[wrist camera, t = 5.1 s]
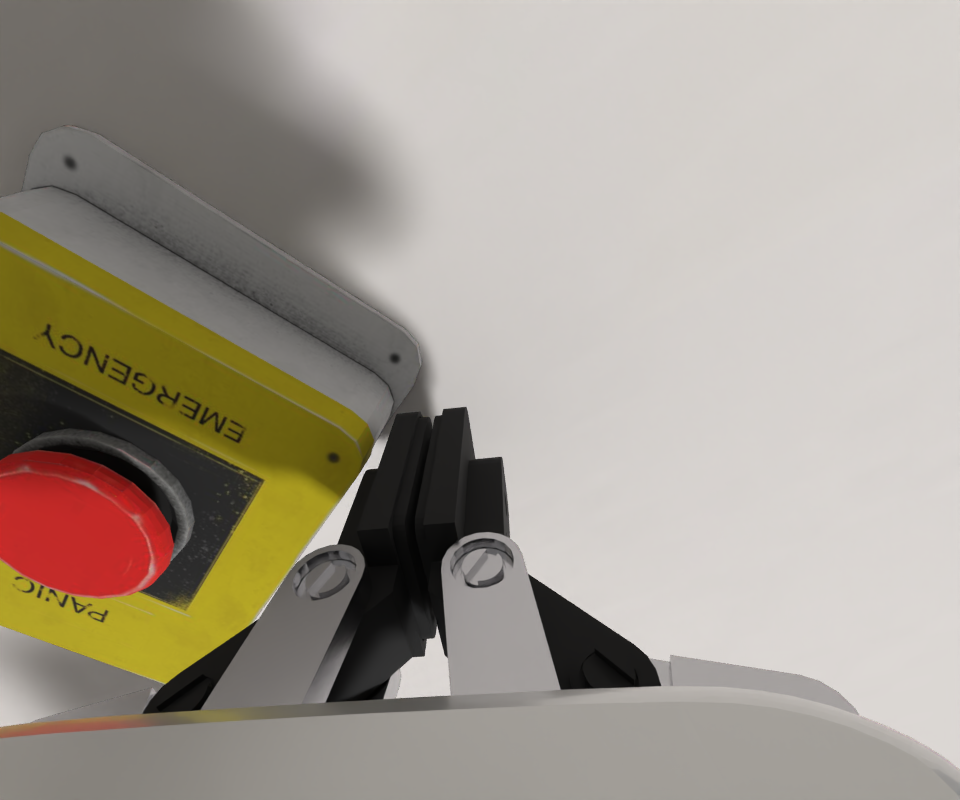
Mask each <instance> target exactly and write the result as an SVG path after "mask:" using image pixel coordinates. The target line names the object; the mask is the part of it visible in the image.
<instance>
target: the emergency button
mask: <svg viewBox="0 0 960 800" xmlns="http://www.w3.org/2000/svg"><path fill="white" fill-rule="evenodd" d="M421 364H422V361H421V355H420V350H419V344H418V343H417V342H416V340H415V339H414V338H413V337H412V336H411V335H410V334H409V333H408V332H407V330H406V329H405V328H403V327H401V326H400V325H398V324H397V323H395V322H394V321H392V320H390V319H389V318H387V317H386V316H384V315H383V314H381V313H379V312H378V311H376V310H375V309H373V308H372V307H370V306H368V305H367V304H365V303H364V302H362V301H361V300H359V299H357V298H356V297H354V296H353V295H351V294H349V293H348V292H346V291H345V290H343V289H342V288H340V287H338V286H337V285H335V284H334V283H332V282H331V281H329V280H327V279H326V278H324V277H323V276H321V275H320V274H318V273H316V272H315V271H313V270H312V269H310V268H309V267H307V266H305V265H304V264H302V263H301V262H299V261H298V260H296V259H294V258H293V257H291V256H290V255H288V254H287V253H285V252H283V251H282V250H280V249H279V248H277V247H276V246H274V245H272V244H271V243H269V242H268V241H266V240H265V239H263V238H261V237H260V236H258V235H257V234H255V233H253V232H252V231H250V230H249V229H247V228H246V227H244V226H242V225H241V224H239V223H238V222H236V221H235V220H233V219H231V218H230V217H228V216H227V215H225V214H224V213H222V212H220V211H219V210H217V209H216V208H214V207H213V206H211V205H209V204H208V203H206V202H205V201H203V200H202V199H200V198H198V197H197V196H195V195H194V194H192V193H191V192H189V191H187V190H186V189H184V188H183V187H181V186H180V185H178V184H176V183H175V182H173V181H172V180H170V179H168V178H167V177H165V176H164V175H162V174H161V173H159V172H157V171H156V170H154V169H153V168H151V167H150V166H148V165H146V164H145V163H143V162H142V161H140V160H139V159H137V158H135V157H134V156H132V155H131V154H129V153H128V152H126V151H124V150H123V149H121V148H120V147H118V146H117V145H115V144H113V143H112V142H110V141H109V140H107V139H106V138H104V137H102V136H101V135H99V134H97V133H94V132H91V131H88V130H85V129H82V128H79V127H76V126H62V127H59V128H56V129H53V130H50V131H47V132H44V133H41V135H40V137H39V139H38V140H37V142H36V144H35V146H34V147H33V149H32V151H31V153H30V154H29V159H28V164H27V168H26V173H25V178H24V182H23V187H22V192H20V193H16V194H12V195H8V196H4V197H0V625H1V626H3V627H6V628H9V629H12V630H15V631H17V632H20V633H23V634H26V635H28V636H31V637H34V638H37V639H40V640H42V641H45V642H48V643H51V644H53V645H56V646H59V647H62V648H65V649H67V650H70V651H73V652H76V653H79V654H81V655H84V656H87V657H90V658H92V659H95V660H98V661H101V662H104V663H106V664H109V665H112V666H115V667H117V668H120V669H123V670H126V671H129V672H131V673H134V674H137V675H140V676H143V677H145V678H148V679H151V680H154V681H156V682H159V683H162V684H166V683H167V682H169V681H170V680H171V679H172V678H174V677H175V676H176V675H177V674H179V673H180V672H182V671H183V670H185V669H186V668H188V667H189V666H191V665H192V664H193V663H195V662H196V661H198V660H199V659H201V658H202V657H204V656H205V655H207V654H208V653H210V652H211V651H213V650H214V649H215V648H217V647H218V646H220V645H221V644H223V643H224V642H226V641H227V640H229V639H230V638H232V637H233V636H235V635H236V634H237V633H239V632H240V631H242V630H243V629H245V628H246V627H248V626H249V625H251V624H252V623H253V622H254V621H255V619H256V618H257V616H258V615H259V614H260V612H261V611H262V609H263V608H264V607H265V605H266V604H267V602H268V601H269V600H270V598H271V597H272V595H273V594H274V593H275V591H276V590H277V588H278V587H279V586H280V584H281V583H282V581H283V580H284V579H285V577H286V576H287V574H288V573H289V572H290V570H291V569H292V567H293V566H294V565H295V563H296V562H297V560H298V559H299V558H300V556H301V555H302V553H303V552H304V551H305V549H306V548H307V546H308V545H309V544H310V542H311V541H312V539H313V538H314V537H315V535H316V534H317V532H318V531H319V530H320V528H321V527H322V525H323V524H324V523H325V521H326V520H327V518H328V517H329V516H330V514H331V513H332V511H333V510H334V509H335V507H336V506H337V504H338V503H339V502H340V500H341V499H342V497H343V496H344V495H345V493H346V492H347V490H348V489H349V488H350V486H351V485H352V483H353V482H354V481H355V479H356V478H357V476H358V475H359V473H360V472H361V470H362V468H363V467H364V465H365V464H366V462H367V460H368V459H369V457H370V455H371V452H372V448H373V446H374V445H375V443H376V441H377V439H378V437H379V435H380V433H381V431H382V430H383V428H384V427H385V426H386V424H387V423H388V421H389V420H390V418H391V417H392V416H393V414H394V413H395V411H396V410H397V408H398V407H399V406H400V404H401V403H402V401H403V400H404V399H405V397H406V396H407V394H408V393H409V391H410V390H411V389H412V387H413V386H414V383H415V380H416V378H417V375H418V372H419V370H420V367H421Z"/></svg>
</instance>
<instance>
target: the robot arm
mask: <svg viewBox="0 0 960 800" xmlns="http://www.w3.org/2000/svg"><path fill="white" fill-rule="evenodd" d="M437 626H438V630H439V634H440V638H441V642H442V646H443V650H444V654H445V656H446V657H447V658H448V665H449V678H450V691H451V696H435V697H416V698H399V699H396V696H397V693H398V690H399V687H400V681H401V670H400V668H401V667H402V666H403V665H404V664H405V663H406V662H407V661H408V660H410V659H411V658H412V657H422V656H425V649H426V641H427V639H430V638H434V637H435V635H436V627H437ZM0 800H960V769H959V768H957V767H956V766H955V765H954V764H952V763H951V762H950V761H949V760H947V759H946V758H944V757H943V756H941V755H940V754H938V753H937V752H935V751H934V750H932V749H930V748H929V747H927V746H925V745H923V744H922V743H920V742H918V741H916V740H915V739H913V738H911V737H909V736H907V735H904V734H902V733H900V732H898V731H896V730H894V729H891V728H889V727H887V726H885V725H882V724H880V723H878V722H875V721H873V720H870V719H868V718H865V717H862V716H860V715H859V714H858V712H857V710H856V709H855V708H854V707H853V706H852V705H851V704H850V703H849V702H848V701H847V700H846V699H845V698H844V697H843V696H842V695H841V694H840V693H839V692H837V691H835V690H834V689H832V688H830V687H829V686H827V685H825V684H824V683H822V682H820V681H818V680H815V679H812V678H808V677H805V676H802V675H797V674H791V673H784V672H778V671H771V670H765V669H758V668H752V667H745V666H739V665H732V664H726V663H719V662H713V661H706V660H700V659H693V658H687V657H680V656H674V655H670V662H668V661H662V660H656V659H649V658H648V656H647V655H646V654H644V653H643V652H642V651H641V650H640V649H639V648H638V647H636V646H635V645H634V644H632V643H631V642H629V641H628V640H626V639H625V638H623V637H622V636H620V635H619V634H617V633H616V632H614V631H613V630H611V629H610V628H608V627H607V626H605V625H604V624H602V623H601V622H599V621H598V620H596V619H595V618H593V617H592V616H590V615H589V614H587V613H586V612H584V611H583V610H581V609H580V608H578V607H577V606H575V605H574V604H572V603H571V602H569V601H568V600H566V599H565V598H563V597H562V596H560V595H559V594H557V593H556V592H554V591H553V590H551V589H550V588H548V587H547V586H545V585H544V584H542V583H541V582H539V581H538V580H536V579H535V578H533V577H532V576H530V575H529V574H528V573H527V569H526V566H525V562H524V559H523V555H522V553H521V551H520V549H519V547H518V545H517V544H516V543H515V542H514V541H512V540H511V539H510V531H509V513H508V501H507V491H506V483H505V475H504V467H503V460H502V457H495V458H484V459H475V454H474V448H473V442H472V436H471V429H470V423H469V417H468V411H467V408H466V407H461V408H451V409H443V413H442V415H440V416H435V419H434V424H433V428H432V423H431V419H430V417H422V414H421V412H412V413H403V414H397V415H396V418H395V421H394V423H393V426H392V429H391V432H390V435H389V438H388V441H387V444H386V447H385V450H384V453H383V455H382V458H381V461H380V464H379V467H378V469H369V470H367V471H366V472H365V474H364V476H363V478H362V481H361V484H360V486H359V489H358V491H357V494H356V497H355V499H354V502H353V505H352V507H351V510H350V512H349V515H348V518H347V520H346V523H345V526H344V528H343V531H342V533H341V536H340V539H339V541H338V544H337V545H329V546H326V547H323V548H320V549H317V550H315V551H313V552H311V553H310V554H308V555H306V556H305V557H304V558H302V559H301V560H300V561H298V562H297V563H296V564H295V565H294V567H293V568H292V569H291V570H290V572H289V573H288V574H287V576H286V577H285V579H284V581H283V582H282V584H281V585H280V587H279V588H278V590H277V591H276V593H275V595H274V596H273V598H272V599H271V601H270V602H269V604H268V605H267V607H266V609H265V610H264V612H263V613H262V615H261V616H260V618H259V619H258V620H257V621H255V622H254V623H252V624H251V625H249V626H248V627H246V628H245V629H243V630H242V631H240V632H239V633H237V634H236V635H235V636H233V637H232V638H230V639H229V640H227V641H226V642H224V643H223V644H221V645H220V646H218V647H217V648H215V649H214V650H213V651H211V652H210V653H208V654H207V655H205V656H204V657H202V658H201V659H199V660H198V661H196V662H195V663H193V664H192V665H191V666H189V667H188V668H186V669H185V670H183V671H182V672H180V673H179V674H177V675H176V676H175V677H174V678H172V679H171V680H170V681H169V682H167V683H166V684H165V685H164V686H163V687H162V688H161V689H160V690H159V691H158V692H157V693H156V692H155V690H154V689H153V688H148V689H144V690H141V691H137V692H134V693H130V694H127V695H123V696H119V697H116V698H112V699H109V700H105V701H102V702H98V703H95V704H91V705H87V706H84V707H80V708H77V709H73V710H70V711H66V712H62V713H59V714H55V715H52V716H48V717H45V718H41V719H38V720H35V721H33V722H31V723H26V724H19V725H11V726H4V727H0Z"/></svg>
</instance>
